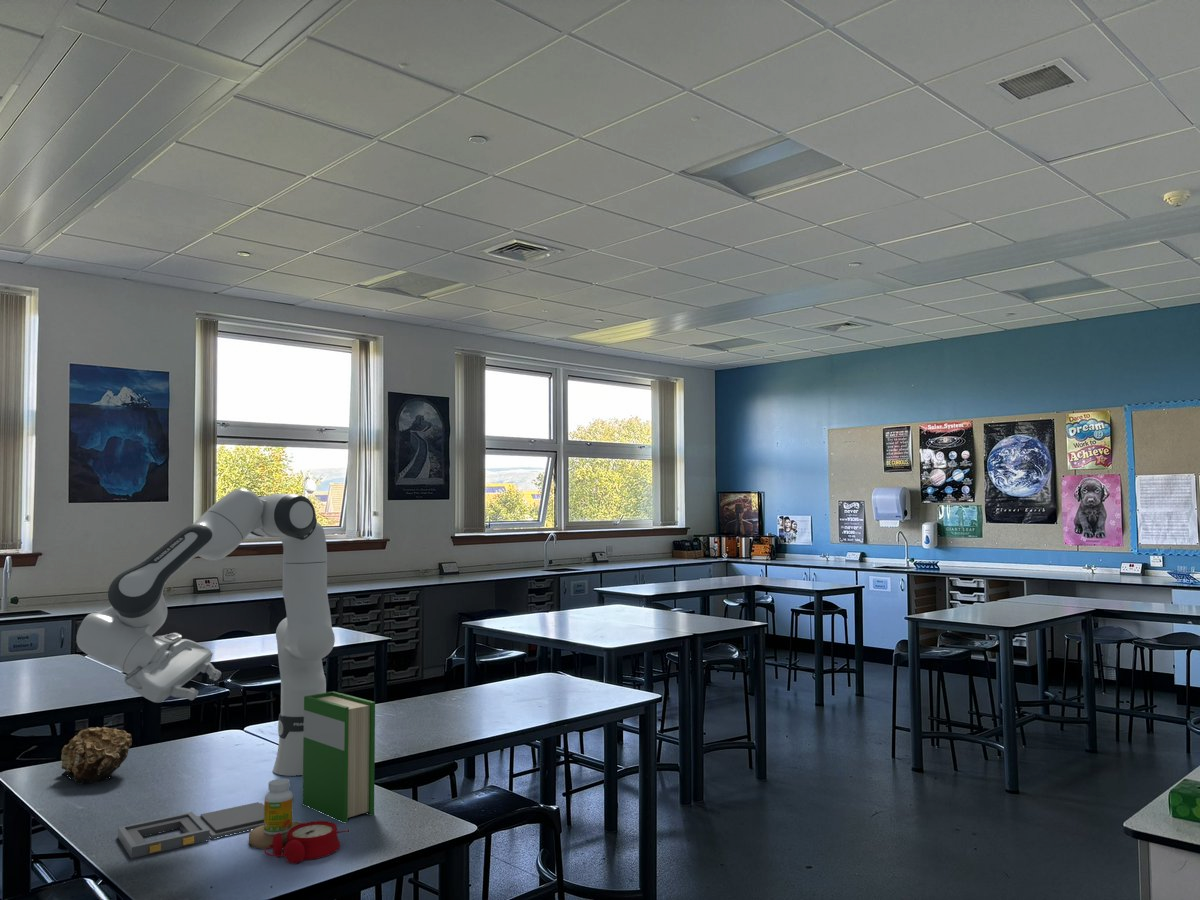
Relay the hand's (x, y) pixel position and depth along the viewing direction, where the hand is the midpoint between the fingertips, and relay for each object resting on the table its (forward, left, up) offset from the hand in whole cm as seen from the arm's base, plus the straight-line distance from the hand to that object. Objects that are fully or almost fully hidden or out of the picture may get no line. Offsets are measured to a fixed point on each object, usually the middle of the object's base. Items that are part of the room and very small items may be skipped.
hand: (207, 686), depth 186 cm
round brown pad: (-9, +20, -29) cm, 36 cm away
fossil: (+12, -52, -29) cm, 61 cm away
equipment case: (+2, +5, -29) cm, 29 cm away
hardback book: (-25, +11, -29) cm, 40 cm away
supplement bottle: (-9, +20, -27) cm, 35 cm away
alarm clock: (-10, +30, -29) cm, 43 cm away
